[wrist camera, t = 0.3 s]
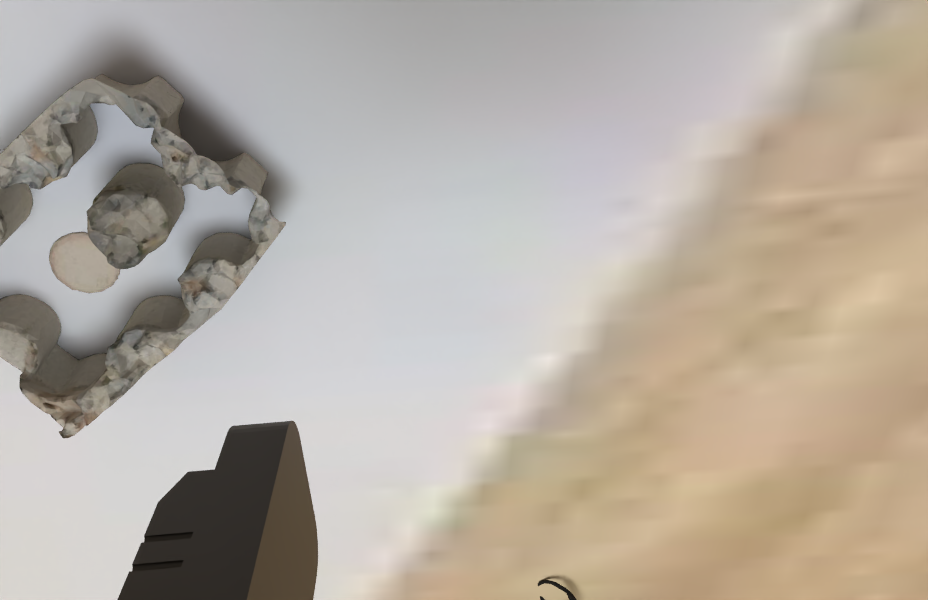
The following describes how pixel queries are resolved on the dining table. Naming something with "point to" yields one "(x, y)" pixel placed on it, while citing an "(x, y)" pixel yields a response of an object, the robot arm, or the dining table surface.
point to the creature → (570, 595)
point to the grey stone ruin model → (119, 245)
